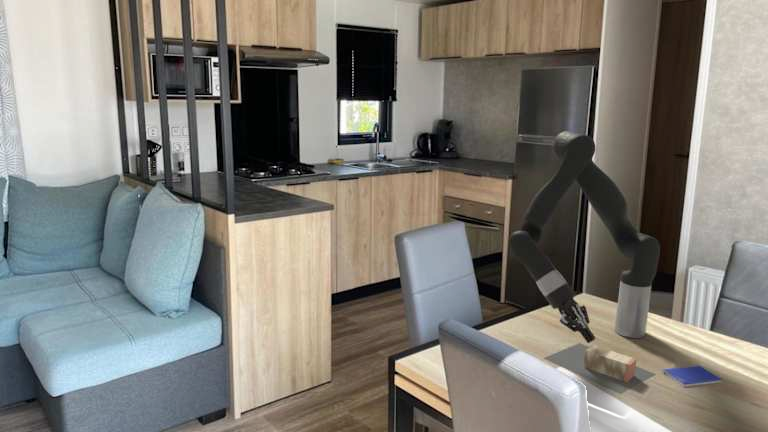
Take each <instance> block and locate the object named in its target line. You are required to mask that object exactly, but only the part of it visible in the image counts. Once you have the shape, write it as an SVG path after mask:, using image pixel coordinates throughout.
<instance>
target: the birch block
mask: <svg viewBox="0 0 768 432" xmlns="http://www.w3.org/2000/svg"><path fill="white" fill-rule="evenodd" d="M588 347H589V348H588V349H587V350H585V359H584V367H585V368H588V369H591V370H594V371H597V372H600V373H602V374H605V375H608V376H611V377H614V378H617V379H620V380H623V381H625V382H629V381H630V380H631V379H632V378H633V377H634V374H635V367H636V366H637V358H634V357H631V356H628V355H625V354H622V353H619V352H615V351H612V350H610V349H606V348H603V347H600V346H596V345H593V344H592V345H591V346H588Z"/></svg>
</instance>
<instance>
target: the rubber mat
mask: <svg viewBox="0 0 768 432" xmlns="http://www.w3.org/2000/svg"><path fill="white" fill-rule="evenodd" d="M589 347H590V346H588V345H585V344H583V343H580V342H579V343H576V344H574V345H571V346H569V347H567V348H565V349H562V350H559V351H557V352H555V353H552V354H550V355H548V356H546V357H543V359H544V360H546V361H548V362H551V363H552V364H555V365H558V366H559V367H562V369H563V368H564V369H565V370H568V371H571V372H572V373H574V374H577V375H579V376H581V377H584V378H586V379H588V380H590V381H592V382H594V383H596V384H598V385H601V386H603V387H605V388H608V389H610V390H612V391H614V392H616V393H618V394H622V393H624V392H627V391H628V390H630V389H632V388H633V387H635V386H637V385H639V384H641V383H642V382H645V381H646V380H648V379H650V378H652V377H653V376H655V375H656V373H655V372H651V371H649V370H648V369H644V368H642V367H639V366H637V365H636V367H635V374H634V377H633V378H632V379H631V380H630V381H629V382H625V381H623V380H620V379H617V378H614V377H611V376H608V375H605V374H602V373H600V372H597V371H594V370H591V369H588V368H585V367H584V359H585V350H587V349H588V348H589Z"/></svg>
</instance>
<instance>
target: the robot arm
mask: <svg viewBox="0 0 768 432" xmlns="http://www.w3.org/2000/svg"><path fill="white" fill-rule="evenodd" d="M553 150H554V153H555V156H556V158H557V159H558V160H559V161H560V162H561V164H560V166H559V168H558V169H557V171H556V173H555V174H554V175H553V177H552V178H550V180H549V181H548V182H547V183H546V184H544V186H542V187H541V188H540V190H539V191H538V192H537V193H536V194H535V196H533V199H532V200H531V202H530V204H529V206H528V208H527V209H526V211H525V213H524V217H523V220H524V221H523V223H522V224H521V226H520V229H519V230H517V231H514V232H513V233H511V234H510V235H509V238H508V246H509V249H510V250H511V252H512V254H513V255H514V256H515V257H516V259H517V260H518V261H519V262H520V263H521V264H522V265H523V266H524V267H525V269H526V270H527V272H528V273H529V275H530V276H531V278H532V279H533V280H534V282H535V283H536V285H537V287H538V289H539V291H540V292H541V293H542V295H543V296H544V298H545V299H546V301H547V302H548V304H549V305H550V306H551V308H552V309H553V310H556V309H557V310H558V312H559V314H560V315H561V318H560V319H559V323H561V324H562V325H564V326H565V327H567V328H568V329H569V330H571V331H572V332H574V333H576V332H578V333H580V334H581V336H582V337H583V339H584V340H585V341H586V343H587V344H590V343H591V342H593V341H595V340H596V336H595V335H594V333H593V332H592V331H591V329H590V328H589V324H590V319H589V315H588V311H587V307H586V306H585V305H581V306H580V305H579V303H578V302H577V301H576V300H575V299H574V298H575V297H576V294H575V292H574V291H573V289H572V288H571V287H570V285H569V284H568V282H567V280H566V279H565V278H564V276H563V275H562V274H561V273H560V272H559V271H558V270H557V268H556V267H555V265H554V264H553V263H552V261H551V260H550V258H549V257H548V256H546V255H545V254H544V253H542V251H541V250H540V249H539V247H538V244H539V242H540V240H541V238H542V235H543V233H544V230H545V228H546V226H547V224H548V223H549V221H550V219H551V218H552V215H554V212H555V210H556V209H557V207H558V205H559V204H560V202H561V200H562V199H563V197H564V196H565V195H566V194H567V192H568V190H569V189H570V188H571V187H572V185H573V184H574V182H575V181H576V183H577V185H578V187H579V188H580V189H581V191H582V193H583V194H584V196H585V197H586V198H587V200H588V203H589V204H590V205H591V207H592V209H593V210H594V212H595V213H596V214H597V216H598V217H599V218H600V220H601V221H602V223H603V224H604V226H605V227H606V229H607V230H608V232H609V234H610V235H611V237H612V239H613V242H614V243H615V246H617V249H618V251H619V252H620V254H621V255H622V256H623V257H624V258H625V259H627V260H629V261H632V262H633V263H632V267H631V269H628V270H623V271H622V272H621V274H620V279H619V280H620V281H619V282H620V283H619V289H618V291H619V292H618V299H617V306H616V315H615V323H614V332H615V333H616V334H617V335H620V336H623V337H626V338H630V339H642V338H644V337H645V336H646V331H647V326H648V325H647V324H648V317H649V316H648V315H649V309H650V308H649V307H650V299H651V293H652V284H653V280H654V279H655V277H656V275H657V269H658V265H659V264H658V263H659V260H660V253H661V247H660V246H661V245H660V241H658V239H656V238H655V237H653V236H650V235H648V234H645V233H642V232H640V231H638V230H637V229H636V228H635V227H634V226H633V224H632V223H631V222H630V220H629V218H628V214H627V213H628V205H627V204H628V203H627V200H626V198H625V197H624V195H623V192H622V191H620V189H619V187H618V186H617V185H616V183H615V182H614V181H613V180H612V178H611V177H609V176H608V175H607V174H606V173H605V172H604V170H602V169H601V168H600V167H599V166H598V165H597V164H596V163H595V162H594V161H593V160H592V158H594V155H595V152H596V143H595V141H594V139H593V138H592V137H591V136H589V135H587V134H585V133H582V132H577V131H572V130H565V131H562V132H560V133H559V134H557V136H556V137H555V139H554V141H553Z"/></svg>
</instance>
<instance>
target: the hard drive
mask: <svg viewBox="0 0 768 432" xmlns="http://www.w3.org/2000/svg"><path fill="white" fill-rule="evenodd" d="M661 371H663V375H665V376H667V377H668V378H669V379H671V380H672V381H674V382H675V383H677V384H678V385H680V386H681V387H691V386H700V385H708V384H709V385H710V384H716V383H717V384H718V382H719V383H722V378H720V377H719V376H718V375H716V374H714V373H713V372H711V371H710V370H708V369H706V368H704V367H702V366H701V365H695V366H684V367H683V366H682V367H675V368H673V367H672V368H662V370H661Z"/></svg>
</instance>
